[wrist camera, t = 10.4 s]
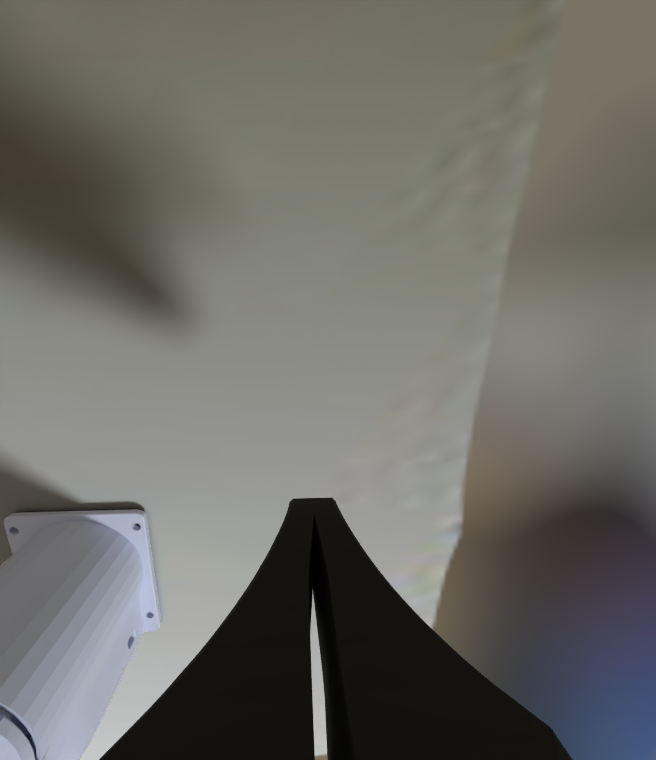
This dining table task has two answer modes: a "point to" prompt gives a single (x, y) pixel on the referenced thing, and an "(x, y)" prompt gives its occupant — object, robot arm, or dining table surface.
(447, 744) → the robot arm
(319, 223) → the dining table surface
